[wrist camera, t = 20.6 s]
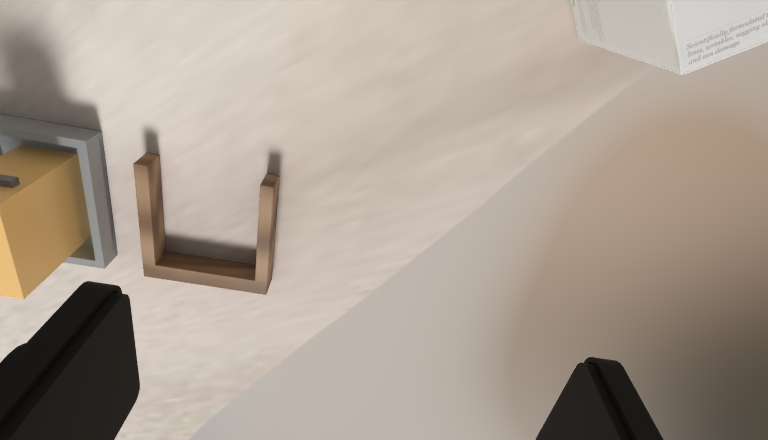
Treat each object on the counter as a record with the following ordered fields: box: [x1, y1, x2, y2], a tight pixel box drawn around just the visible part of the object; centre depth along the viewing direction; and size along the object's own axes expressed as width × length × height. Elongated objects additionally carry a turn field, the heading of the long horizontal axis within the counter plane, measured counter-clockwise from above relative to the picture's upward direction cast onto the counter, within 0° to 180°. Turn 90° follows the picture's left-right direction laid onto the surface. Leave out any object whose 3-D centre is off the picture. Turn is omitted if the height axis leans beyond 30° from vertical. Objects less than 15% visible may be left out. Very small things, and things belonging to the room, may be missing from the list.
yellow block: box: [0, 145, 91, 299], centre depth 40 cm, size 10×5×10 cm, turn 170°
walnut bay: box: [133, 153, 279, 295], centre depth 46 cm, size 13×12×2 cm
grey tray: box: [0, 114, 117, 269], centre depth 44 cm, size 14×10×2 cm
